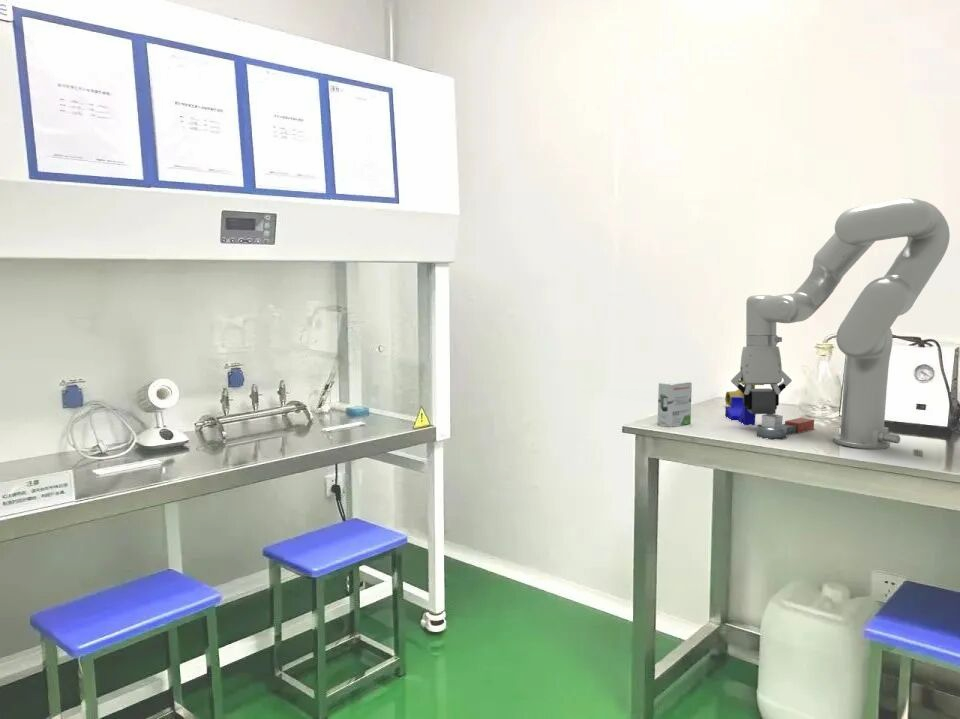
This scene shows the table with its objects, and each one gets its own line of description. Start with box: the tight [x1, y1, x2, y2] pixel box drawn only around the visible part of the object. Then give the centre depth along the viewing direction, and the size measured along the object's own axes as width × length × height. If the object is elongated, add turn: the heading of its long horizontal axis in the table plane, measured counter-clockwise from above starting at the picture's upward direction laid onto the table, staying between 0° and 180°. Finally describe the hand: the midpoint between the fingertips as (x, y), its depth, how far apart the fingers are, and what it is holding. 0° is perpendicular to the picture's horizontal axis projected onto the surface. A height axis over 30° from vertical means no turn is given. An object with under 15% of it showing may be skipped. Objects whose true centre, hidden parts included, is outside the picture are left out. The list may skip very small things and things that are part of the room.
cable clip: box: [724, 397, 757, 426], centre depth 218 cm, size 12×4×6 cm, turn 0°
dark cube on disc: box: [747, 388, 777, 415], centre depth 206 cm, size 6×6×6 cm
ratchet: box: [756, 414, 815, 440], centre depth 202 cm, size 21×7×6 cm, turn 128°
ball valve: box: [724, 379, 765, 407], centre depth 239 cm, size 13×10×10 cm
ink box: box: [657, 380, 693, 428], centre depth 212 cm, size 9×5×12 cm, turn 124°
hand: (761, 408), depth 206 cm, fingers closed on dark cube on disc, 6 cm apart
